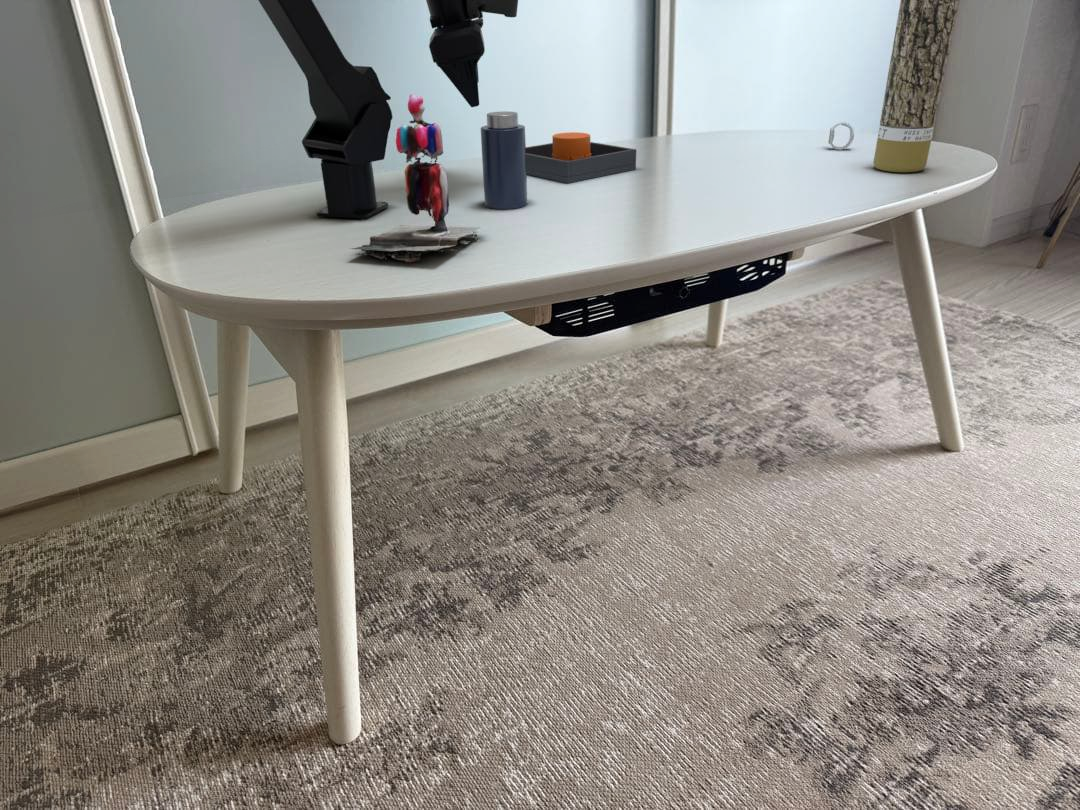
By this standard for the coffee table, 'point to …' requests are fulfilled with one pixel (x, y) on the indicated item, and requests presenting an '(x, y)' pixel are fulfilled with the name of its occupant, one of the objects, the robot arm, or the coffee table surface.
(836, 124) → the grey ring
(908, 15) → the paper tube
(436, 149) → the statue
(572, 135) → the spray can cap
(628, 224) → the coffee table surface
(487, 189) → the spray can
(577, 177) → the tray
